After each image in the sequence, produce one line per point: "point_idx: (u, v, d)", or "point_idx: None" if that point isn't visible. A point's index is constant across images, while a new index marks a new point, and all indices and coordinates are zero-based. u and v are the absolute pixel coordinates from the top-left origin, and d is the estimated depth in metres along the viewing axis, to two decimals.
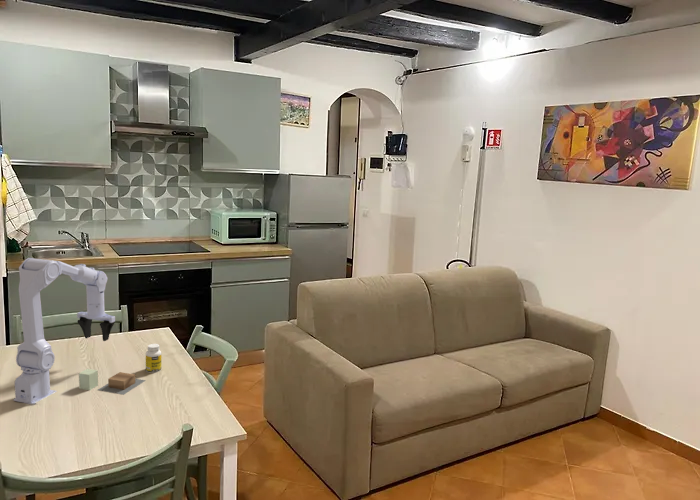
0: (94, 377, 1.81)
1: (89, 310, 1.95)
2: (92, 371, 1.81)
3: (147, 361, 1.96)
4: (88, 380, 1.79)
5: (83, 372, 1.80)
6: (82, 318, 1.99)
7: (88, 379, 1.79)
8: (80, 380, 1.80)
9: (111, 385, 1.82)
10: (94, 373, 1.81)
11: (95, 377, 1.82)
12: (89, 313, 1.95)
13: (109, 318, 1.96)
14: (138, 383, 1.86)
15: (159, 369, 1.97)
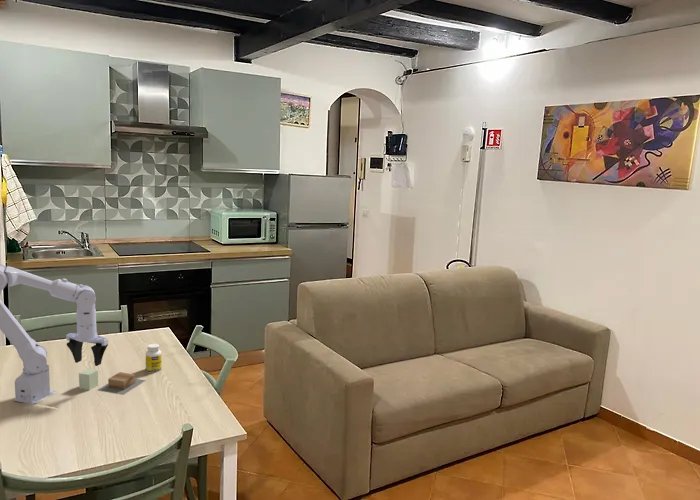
0: (94, 377, 1.81)
1: (79, 332, 1.76)
2: (92, 371, 1.81)
3: (147, 361, 1.96)
4: (88, 380, 1.79)
5: (83, 372, 1.80)
6: (72, 340, 1.80)
7: (88, 379, 1.79)
8: (80, 380, 1.80)
9: (111, 385, 1.82)
10: (94, 373, 1.81)
11: (95, 377, 1.82)
12: (79, 335, 1.76)
13: (101, 341, 1.76)
14: (138, 383, 1.86)
15: (159, 369, 1.97)
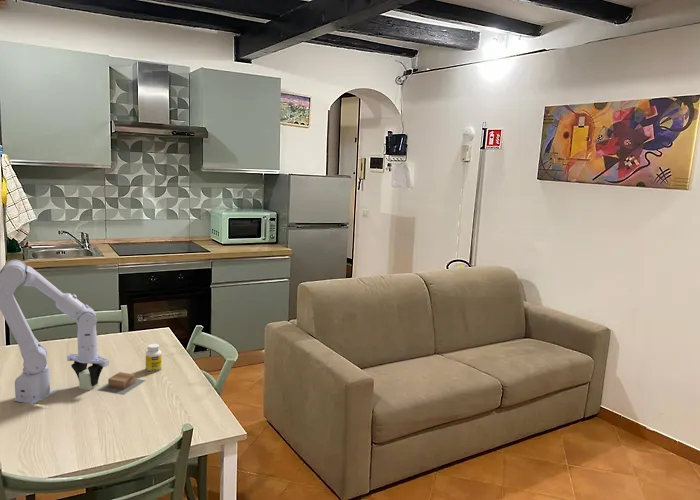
0: None
1: (80, 353, 1.77)
2: None
3: (147, 361, 1.96)
4: (88, 380, 1.79)
5: (83, 372, 1.80)
6: None
7: (88, 379, 1.79)
8: (80, 380, 1.80)
9: (111, 385, 1.82)
10: None
11: None
12: (80, 356, 1.77)
13: (102, 362, 1.78)
14: (138, 383, 1.86)
15: (159, 369, 1.97)
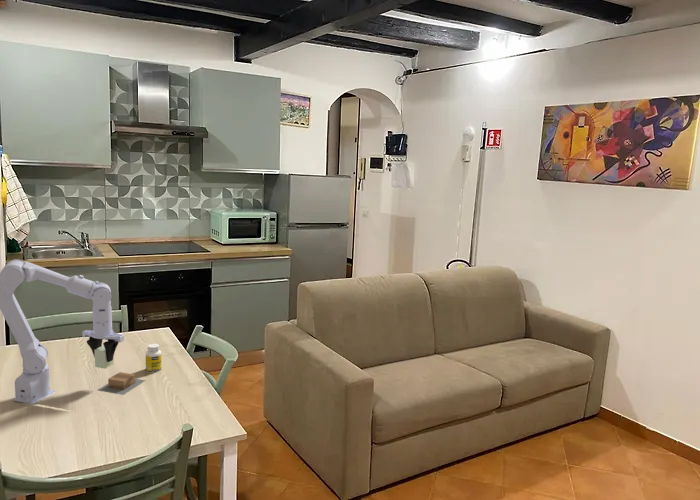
0: None
1: (95, 329, 1.77)
2: None
3: (147, 361, 1.96)
4: (104, 357, 1.79)
5: (99, 349, 1.80)
6: None
7: (104, 355, 1.79)
8: (96, 357, 1.80)
9: (111, 385, 1.82)
10: None
11: None
12: (95, 332, 1.77)
13: (117, 337, 1.78)
14: (138, 383, 1.86)
15: (159, 369, 1.97)
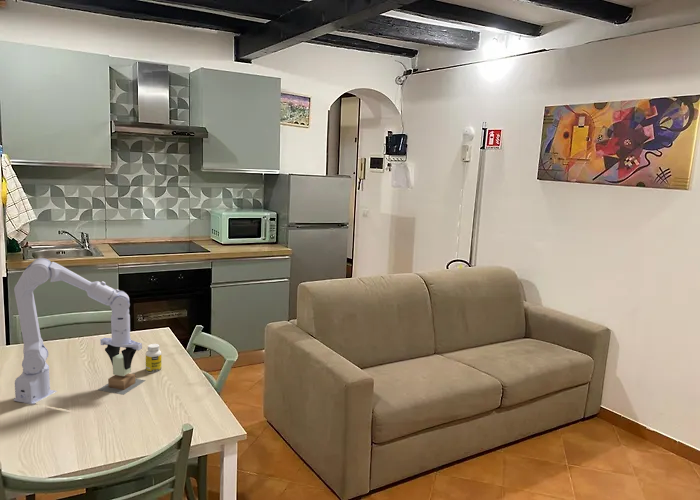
0: None
1: (114, 337, 1.79)
2: None
3: (147, 361, 1.96)
4: (122, 364, 1.81)
5: (117, 356, 1.82)
6: None
7: (122, 363, 1.81)
8: (114, 364, 1.82)
9: (111, 385, 1.82)
10: None
11: None
12: (114, 340, 1.79)
13: (136, 345, 1.79)
14: (138, 383, 1.86)
15: (159, 369, 1.97)
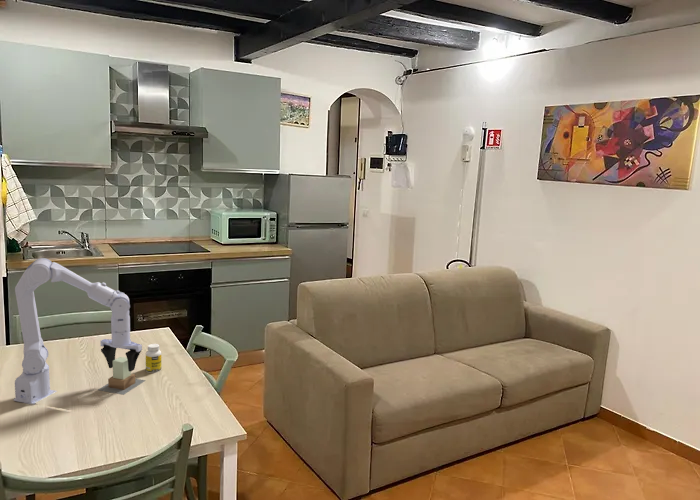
0: None
1: (114, 338, 1.79)
2: (125, 359, 1.83)
3: (147, 361, 1.96)
4: (122, 368, 1.81)
5: (117, 360, 1.82)
6: (106, 346, 1.83)
7: (122, 367, 1.81)
8: (114, 368, 1.82)
9: (111, 385, 1.82)
10: (127, 361, 1.83)
11: None
12: (114, 341, 1.79)
13: (136, 347, 1.80)
14: (138, 383, 1.86)
15: (159, 369, 1.97)
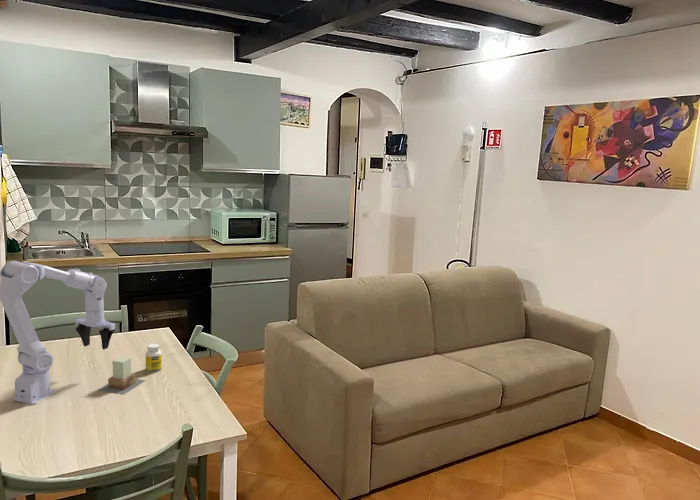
0: (128, 364, 1.83)
1: (88, 317, 1.86)
2: (125, 359, 1.83)
3: (147, 361, 1.96)
4: (122, 368, 1.81)
5: (117, 360, 1.82)
6: (81, 325, 1.90)
7: (122, 367, 1.81)
8: (114, 368, 1.82)
9: (111, 385, 1.82)
10: (127, 361, 1.83)
11: (128, 365, 1.84)
12: (88, 320, 1.87)
13: (109, 325, 1.87)
14: (138, 383, 1.86)
15: (159, 369, 1.97)
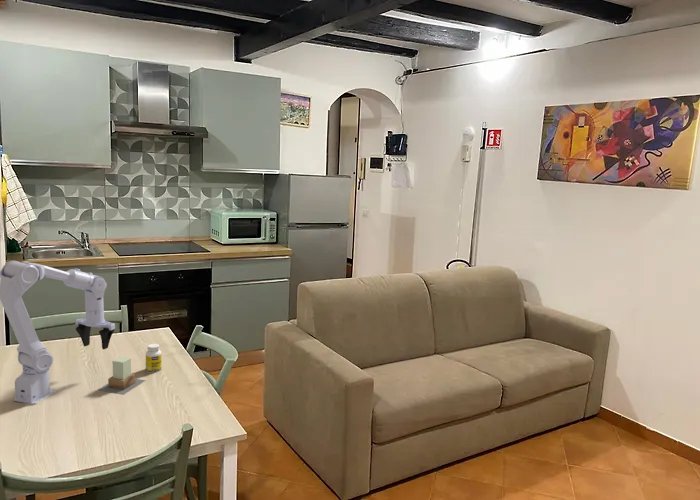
0: (128, 364, 1.83)
1: (88, 317, 1.86)
2: (125, 359, 1.83)
3: (147, 361, 1.96)
4: (122, 368, 1.81)
5: (117, 360, 1.82)
6: (80, 325, 1.90)
7: (122, 367, 1.81)
8: (114, 368, 1.82)
9: (111, 385, 1.82)
10: (127, 361, 1.83)
11: (128, 365, 1.84)
12: (88, 320, 1.87)
13: (109, 325, 1.87)
14: (138, 383, 1.86)
15: (159, 369, 1.97)
